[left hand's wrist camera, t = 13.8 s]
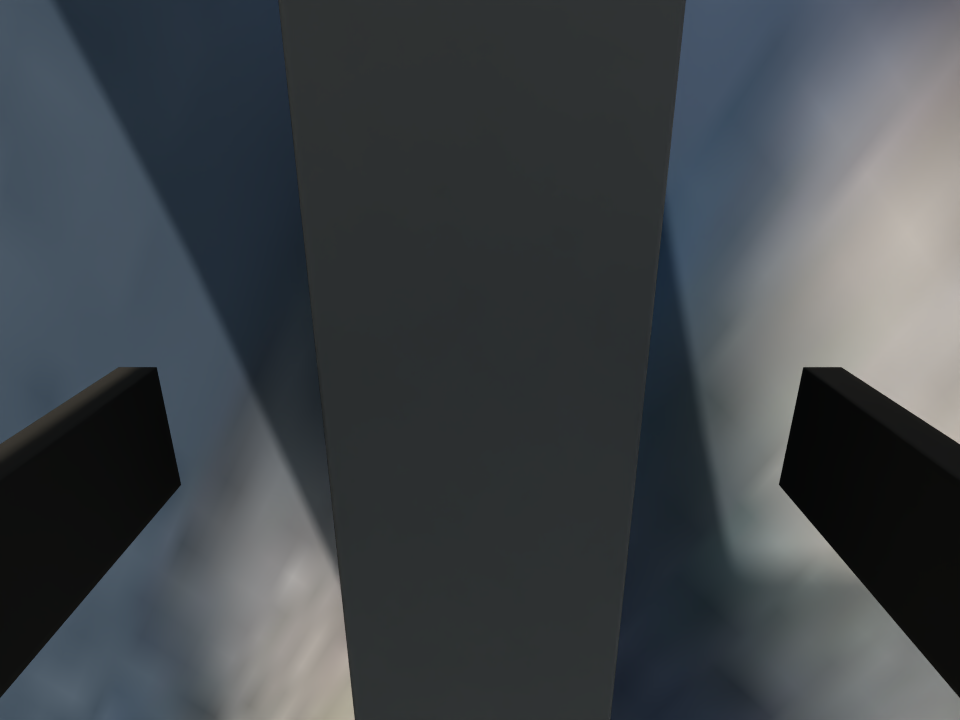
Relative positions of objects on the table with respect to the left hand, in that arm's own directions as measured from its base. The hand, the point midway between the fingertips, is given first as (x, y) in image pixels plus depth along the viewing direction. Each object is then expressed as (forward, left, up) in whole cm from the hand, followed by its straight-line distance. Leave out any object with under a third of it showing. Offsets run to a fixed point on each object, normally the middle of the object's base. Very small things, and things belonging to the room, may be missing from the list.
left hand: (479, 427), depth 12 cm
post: (+21, +10, -4) cm, 24 cm away
